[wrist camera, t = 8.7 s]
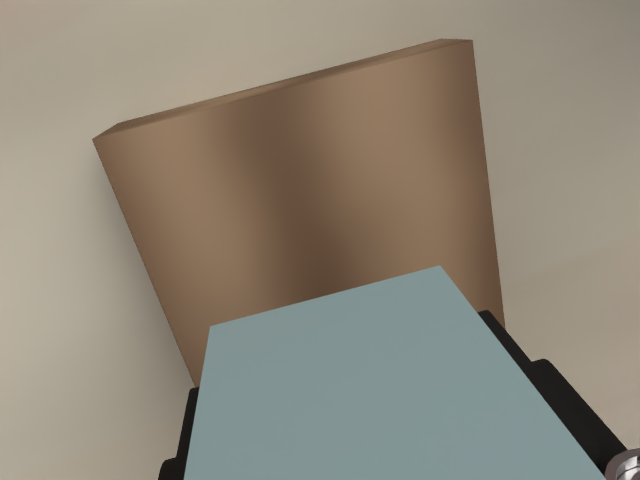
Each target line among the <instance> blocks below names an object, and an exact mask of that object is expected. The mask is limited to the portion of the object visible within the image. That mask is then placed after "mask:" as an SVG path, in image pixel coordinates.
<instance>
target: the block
mask: <svg viewBox="0 0 640 480" xmlns="http://www.w3.org/2000/svg"><path fill="white" fill-rule="evenodd" d="M184 480H606V478H605V477H604V476H603V474H602V473H601V472H600V471H599V469H598V468H597V467H596V465H595V464H594V463H593V462H592V460H591V459H590V458H589V456H588V455H587V454H586V453H585V451H584V450H583V449H582V447H581V446H580V445H579V444H578V442H577V441H576V440H575V438H574V437H573V436H572V435H571V433H570V432H569V431H568V429H567V428H566V427H565V426H564V424H563V423H562V422H561V420H560V419H559V418H558V417H557V415H556V414H555V413H554V411H553V410H552V409H551V407H550V406H549V405H548V404H547V402H546V401H545V400H544V398H543V397H542V396H541V395H540V393H539V392H538V391H537V389H536V388H535V387H534V386H533V384H532V383H531V382H530V380H529V379H528V378H527V377H526V375H525V374H524V373H523V371H522V370H521V369H520V368H519V366H518V365H517V364H516V362H515V361H514V360H513V359H512V357H511V356H510V355H509V353H508V352H507V351H506V349H505V348H504V347H503V346H502V344H501V343H500V342H499V340H498V339H497V338H496V337H495V335H494V334H493V333H492V331H491V330H490V329H489V328H488V326H487V325H486V324H485V322H484V321H483V320H482V319H481V317H480V316H479V315H478V313H477V312H476V311H475V310H474V308H473V307H472V306H471V304H470V303H469V302H468V301H467V299H466V298H465V297H464V295H463V294H462V293H461V291H460V290H459V289H458V288H457V286H456V285H455V284H454V282H453V281H452V280H451V279H450V277H449V276H448V275H447V273H446V272H445V271H444V270H443V268H442V267H441V266H440V265H439V266H435V267H432V268H428V269H424V270H420V271H417V272H413V273H409V274H405V275H401V276H398V277H394V278H390V279H386V280H383V281H379V282H375V283H371V284H368V285H364V286H360V287H356V288H353V289H349V290H345V291H341V292H337V293H334V294H330V295H326V296H322V297H319V298H315V299H311V300H307V301H304V302H300V303H296V304H292V305H288V306H285V307H281V308H277V309H273V310H270V311H266V312H262V313H258V314H255V315H251V316H247V317H243V318H240V319H236V320H232V321H228V322H224V323H221V324H217V325H213V326H210V331H209V336H208V342H207V348H206V354H205V359H204V365H203V371H202V377H201V383H200V388H199V394H198V400H197V406H196V411H195V417H194V423H193V429H192V434H191V440H190V446H189V452H188V457H187V463H186V469H185V475H184Z"/></svg>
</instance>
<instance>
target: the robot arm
mask: <svg viewBox="0 0 640 480" xmlns="http://www.w3.org/2000/svg"><path fill="white" fill-rule="evenodd" d="M477 313H478V315H479V316H480V317H481V319H482V320H483V321H484V322H485V324H486V325H487V326H488V328H489V329H490V330H491V331H492V333H493V334H494V335H495V337H496V338H497V339H498V340H499V342H500V343H501V344H502V346H503V347H504V348H505V349H506V351H507V352H508V353H509V355H510V356H511V357H512V359H513V360H514V361H515V362H516V364H517V365H518V366H519V368H520V369H521V370H522V371H523V373H524V374H525V375H526V377H527V378H528V379H529V380H530V382H531V383H532V384H533V386H534V387H535V388H536V389H537V391H538V392H539V393H540V395H541V396H542V397H543V398H544V400H545V401H546V402H547V404H548V405H549V406H550V407H551V409H552V410H553V411H554V413H555V414H556V415H557V417H558V418H559V419H560V420H561V422H562V423H563V424H564V426H565V427H566V428H567V429H568V431H569V432H570V433H571V435H572V436H573V437H574V438H575V440H576V441H577V442H578V444H579V445H580V446H581V447H582V449H583V450H584V451H585V453H586V454H587V455H588V456H589V458H590V459H591V460H592V462H593V463H594V464H595V465H596V467H597V468H598V469H599V471H600V472H601V473H602V474H603V476H604V477H605V478H606V480H640V448H638V449H632V450H627V449H626V447H625V446H624V445H623V444H622V443H621V442H620V441H619V439H618V438H617V437H616V436H615V435H614V434H613V433H612V431H611V430H610V429H609V428H608V427H607V426H606V425H605V424H604V422H603V421H602V420H601V419H600V418H599V417H598V416H597V414H596V413H595V412H594V411H593V410H592V409H591V408H590V407H589V405H588V404H587V403H586V402H585V401H584V400H583V399H582V397H581V396H580V395H579V394H578V393H577V392H576V391H575V390H574V388H573V387H572V386H571V385H570V384H569V383H568V382H567V380H566V379H565V378H564V377H563V376H562V375H561V374H560V372H559V371H558V370H557V369H556V368H555V367H554V366H553V365H552V364H551V363H550V362H549V361H548V360H546V359H541V360H537V361H533V362H531V361H530V359H529V358H528V357H527V356H526V354H525V353H524V352H523V351H522V350H521V348H520V347H519V346H518V345H517V344H516V342H515V341H514V340H513V339H512V337H511V336H510V335H509V334H508V333H507V331H506V330H505V329H504V328H503V327H502V325H501V324H500V323H499V322H498V320H497V319H496V318H495V317H494V316H493V314H492V313H491V312H490V311H489V310H484V311H480V312H477ZM199 388H200V386H199V387H195V388H192V389H190V392H189V396H188V401H187V406H186V411H185V416H184V421H183V426H182V431H181V436H180V441H179V446H178V451H177V456H176V457H175V458H171V459H168V460H165V461H164V462H163V464H162V466H161V469H160V473H159V477H158V480H184V475H185V469H186V463H187V457H188V452H189V446H190V440H191V434H192V429H193V423H194V417H195V411H196V406H197V400H198V394H199Z"/></svg>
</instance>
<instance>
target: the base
mask: <svg viewBox="0 0 640 480" xmlns="http://www.w3.org/2000/svg"><path fill="white" fill-rule="evenodd" d="M92 140H93V143H94V145H95V147H96V150H97V152H98V155H99V157H100V159H101V162H102V164H103V167H104V169H105V171H106V174H107V176H108V179H109V181H110V183H111V186H112V188H113V191H114V193H115V195H116V198H117V200H118V203H119V205H120V207H121V210H122V212H123V215H124V217H125V219H126V222H127V224H128V227H129V229H130V231H131V234H132V236H133V239H134V241H135V243H136V246H137V248H138V251H139V253H140V255H141V258H142V260H143V262H144V265H145V267H146V270H147V272H148V274H149V277H150V279H151V282H152V284H153V286H154V289H155V291H156V294H157V296H158V298H159V301H160V303H161V306H162V308H163V310H164V313H165V315H166V318H167V320H168V322H169V325H170V327H171V330H172V332H173V334H174V337H175V339H176V342H177V344H178V346H179V349H180V351H181V354H182V356H183V358H184V361H185V363H186V366H187V368H188V370H189V373H190V375H191V378H192V380H193V382H194V385H195V387H199V386H200V383H201V377H202V371H203V365H204V359H205V354H206V348H207V342H208V336H209V331H210V326H213V325H217V324H221V323H224V322H228V321H232V320H236V319H240V318H243V317H247V316H251V315H255V314H258V313H262V312H266V311H270V310H273V309H277V308H281V307H285V306H288V305H292V304H296V303H300V302H304V301H307V300H311V299H315V298H319V297H322V296H326V295H330V294H334V293H337V292H341V291H345V290H349V289H353V288H356V287H360V286H364V285H368V284H371V283H375V282H379V281H383V280H386V279H390V278H394V277H398V276H401V275H405V274H409V273H413V272H417V271H420V270H424V269H428V268H432V267H435V266H439V265H440V266H441V267H442V268H443V270H444V271H445V272H446V273H447V275H448V276H449V277H450V279H451V280H452V281H453V282H454V284H455V285H456V286H457V288H458V289H459V290H460V291H461V293H462V294H463V295H464V297H465V298H466V299H467V301H468V302H469V303H470V304H471V306H472V307H473V308H474V310H475V311H476V312H480V311H484V310H489V311H490V312H491V313H492V314H493V316H494V317H495V318H496V319H497V320H498V322H499V323H500V324H501V325H502V327H503V328H504V329H505V322H504V313H503V304H502V296H501V287H500V278H499V269H498V261H497V252H496V243H495V234H494V225H493V217H492V208H491V199H490V190H489V182H488V173H487V164H486V155H485V147H484V138H483V129H482V120H481V112H480V103H479V94H478V85H477V77H476V68H475V59H474V50H473V41H472V40H459V39H439V40H435V41H431V42H427V43H424V44H420V45H416V46H412V47H408V48H404V49H401V50H397V51H393V52H389V53H385V54H381V55H378V56H374V57H370V58H366V59H362V60H358V61H355V62H351V63H347V64H343V65H339V66H336V67H332V68H328V69H324V70H320V71H316V72H313V73H309V74H305V75H301V76H297V77H293V78H290V79H286V80H282V81H278V82H274V83H270V84H267V85H263V86H259V87H255V88H251V89H247V90H244V91H240V92H236V93H232V94H228V95H224V96H221V97H217V98H213V99H209V100H205V101H201V102H198V103H194V104H190V105H186V106H182V107H179V108H175V109H171V110H167V111H163V112H159V113H156V114H152V115H148V116H144V117H140V118H136V119H133V120H129V121H125V122H121V123H118V124H116V125H115V126H113V127H111V128H110V129H108V130H106V131H105V132H103V133H101V134H100V135H98V136H97V137H95V138H93V139H92Z"/></svg>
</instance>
